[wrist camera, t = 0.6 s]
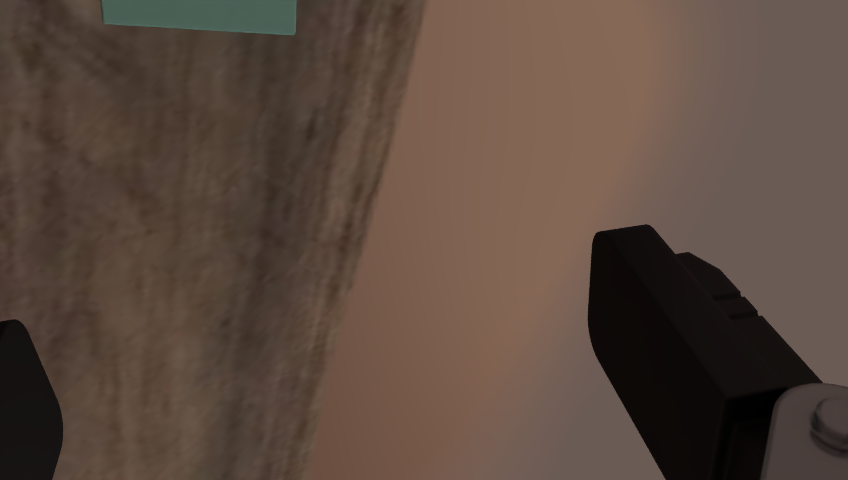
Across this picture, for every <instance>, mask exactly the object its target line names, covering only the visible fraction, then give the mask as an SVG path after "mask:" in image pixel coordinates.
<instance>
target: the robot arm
mask: <svg viewBox="0 0 848 480" xmlns="http://www.w3.org/2000/svg"><path fill="white" fill-rule="evenodd" d="M588 328H589V335H590V339H591V343H592V346H593V350H594V352H595V355H596V357H597V359H598V361H599V362H600V364H601V366H602V368H603V369H604V371H605V373H606V375H607V377H608V378H609V380H610V382H611V384H612V385H613V387H614V389H615V391H616V393H617V394H618V396H619V398H620V400H621V401H622V403H623V405H624V407H625V408H626V410H627V412H628V413H629V415H630V417H631V419H632V421H633V423H634V424H635V426H636V428H637V429H638V431H639V433H640V435H641V437H642V438H643V440H644V442H645V444H646V446H647V447H648V449H649V451H650V453H651V454H652V456H653V458H654V459H655V462H656V463H657V465H658V467H659V469H660V470H661V472H662V474H663V476H664V477H665V479H666V480H848V387H845V386H840V385H835V384H826V383H823V382H822V381H821V380H820V379H819V378H818V377H817V376H816V375H815V374H814V372H813V371H812V370H811V369H810V368H809V367H808V366H807V365H806V364H805V363H804V361H803V360H802V359H801V358H800V357H799V356H798V355H797V354H796V353H795V352H794V351H793V349H792V348H791V347H790V346H789V345H788V344H787V343H786V342H785V341H784V339H783V338H782V337H781V336H780V335H779V334H778V333H777V332H776V331H775V330H774V328H773V327H772V326H771V325H770V324H769V323H768V322H767V321H766V320H765V319H764V317H763V316H758V313H757V310H756V309H755V308H754V306H753V305H752V304H751V303H750V302H749V301H748V300H747V299H746V298H745V297H741V294H740V291H739V290H738V289H737V288H736V287H735V286H734V285H733V283H732V282H731V281H730V280H729V279H728V278H727V277H726V276H725V275H724V274H723V272H722V271H721V270H720V269H718V268H716V267H715V266H713V265H711V264H709V263H707V262H705V261H703V260H702V259H700V258H698V257H696V256H695V255H693V254H691V253H689V252H686V253H680V254H675V253H674V252H673V251H672V250H671V248H669V246H668V245H667V244H666V243H665V241H664V240H663V239H662V238H661V237H660V236H659V234H658V233H657V232H656V231H655V230H654V228H652V227H651V226H650V225H647V224H645V225H639V226H632V227H626V228H620V229H613V230H607V231H600V232H597V233H596V235H595V236H594V239H593V243H592V254H591V271H590V288H589V304H588ZM62 441H63V421H62V415H61V410H60V406H59V403H58V400H57V398H56V396H55V393H54V391H53V389H52V387H51V384H50V382H49V380H48V377H47V375H46V373H45V370H44V368H43V366H42V363H41V361H40V359H39V356H38V354H37V352H36V350H35V347H34V345H33V343H32V340H31V338H30V336H29V333H28V331H27V329H26V328H25V326H24V325H23V324H22V323H21V322H20V321H18V320H16V319H14V320H7V321H1V322H0V480H52V478H53V475H54V472H55V468H56V465H57V461H58V458H59V455H60V451H61V447H62Z"/></svg>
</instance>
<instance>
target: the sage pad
mask: <svg viewBox="0 0 848 480" xmlns="http://www.w3.org/2000/svg"><path fill="white" fill-rule="evenodd" d="M296 1H297V0H101V11H102V21H103V23H105V24H114V25H131V26H148V27H164V28H181V29H197V30H214V31H231V32H247V33H264V34H280V35H295V33H296Z"/></svg>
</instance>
